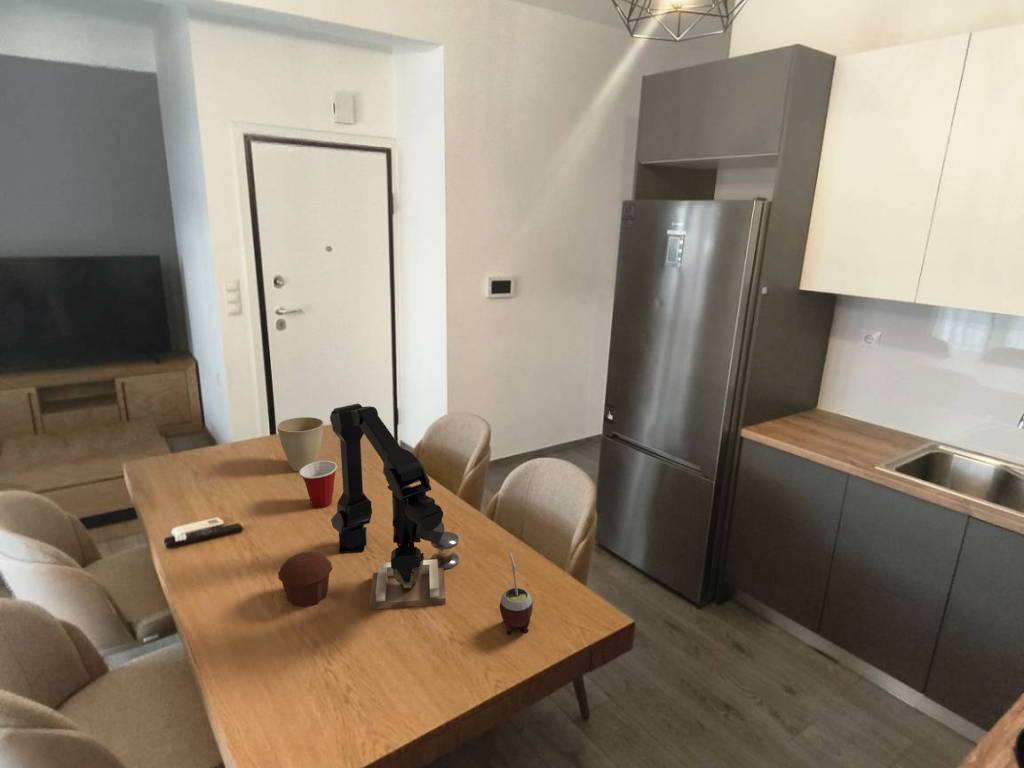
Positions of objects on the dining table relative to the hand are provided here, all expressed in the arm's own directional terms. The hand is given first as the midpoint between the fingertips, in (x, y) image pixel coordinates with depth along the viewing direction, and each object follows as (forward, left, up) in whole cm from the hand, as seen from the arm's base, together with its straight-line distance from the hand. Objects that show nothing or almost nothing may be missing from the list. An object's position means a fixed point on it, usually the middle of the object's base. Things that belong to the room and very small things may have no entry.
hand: (407, 572), depth 135 cm
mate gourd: (+23, -14, -6) cm, 28 cm away
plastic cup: (-27, +47, -6) cm, 54 cm away
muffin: (-23, +2, -6) cm, 24 cm away
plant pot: (-37, +75, -6) cm, 84 cm away
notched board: (0, +1, -5) cm, 5 cm away
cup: (0, 0, -4) cm, 4 cm away
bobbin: (+9, +12, -5) cm, 16 cm away
